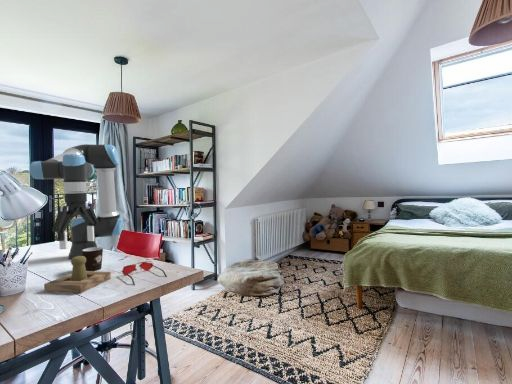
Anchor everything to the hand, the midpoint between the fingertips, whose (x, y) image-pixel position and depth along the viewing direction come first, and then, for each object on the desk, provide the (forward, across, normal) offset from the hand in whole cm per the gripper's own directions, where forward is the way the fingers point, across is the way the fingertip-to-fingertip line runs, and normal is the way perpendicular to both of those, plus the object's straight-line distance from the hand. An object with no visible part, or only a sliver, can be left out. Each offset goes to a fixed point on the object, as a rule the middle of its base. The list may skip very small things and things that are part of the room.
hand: (78, 244), depth 110 cm
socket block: (+16, +1, 0) cm, 16 cm away
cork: (+16, +1, 0) cm, 16 cm away
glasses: (+17, -12, +21) cm, 30 cm away
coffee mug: (+17, -17, -11) cm, 27 cm away
